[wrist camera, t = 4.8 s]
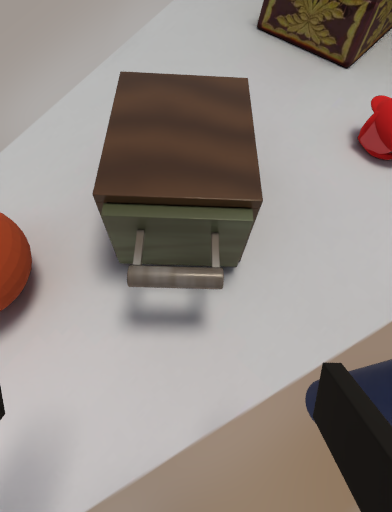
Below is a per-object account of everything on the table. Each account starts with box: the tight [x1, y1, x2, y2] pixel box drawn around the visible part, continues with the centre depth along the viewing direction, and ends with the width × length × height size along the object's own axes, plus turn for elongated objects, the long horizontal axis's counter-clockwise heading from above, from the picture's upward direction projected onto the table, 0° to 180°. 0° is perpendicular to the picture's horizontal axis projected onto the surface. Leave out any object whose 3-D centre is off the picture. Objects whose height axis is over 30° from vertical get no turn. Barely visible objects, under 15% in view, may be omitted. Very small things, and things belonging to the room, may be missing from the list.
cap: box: [358, 96, 392, 160], centre depth 38 cm, size 8×6×6 cm
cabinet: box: [93, 72, 263, 261], centre depth 30 cm, size 16×13×10 cm
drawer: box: [101, 203, 254, 289], centre depth 28 cm, size 19×12×8 cm, turn 179°
